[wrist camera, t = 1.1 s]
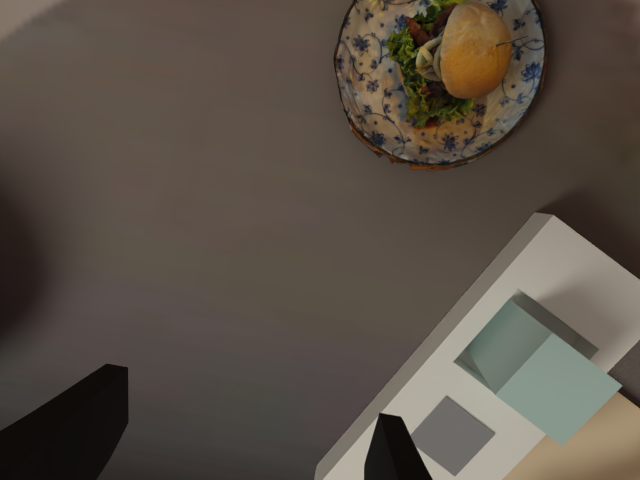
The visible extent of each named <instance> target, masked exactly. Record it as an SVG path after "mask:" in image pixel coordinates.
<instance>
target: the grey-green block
mask: <svg viewBox="0 0 640 480" xmlns="http://www.w3.org/2000/svg"><path fill="white" fill-rule="evenodd" d="M466 349H467V351H468V352H469V354H470V356H471V357H472V359H473V361H474V362H475V364H476V365H477V367H478V369H479V370H480V372H481V373H482V375H483V377H484V378H485V380H486V381H487V383H488V385H489V386H490V388H491V389H492V391H493V393H494V394H495V395H496V396H497V397H498V398H500V399H501V400H502V401H503V402H505V403H506V404H507V405H509V406H510V407H511V408H513V409H514V410H515V411H517V412H518V413H519V414H520V415H522V416H523V417H524V418H526V419H527V420H528V421H530V422H531V423H532V424H534V425H535V426H536V427H537V428H539V429H540V430H541V431H543V432H544V433H545V434H547V435H548V436H549V437H551V438H552V439H553V440H554V441H556V442H557V443H558V444H560V445H561V446H563V445H564V444H565V443H566V442H567V441H568V440H569V439H570V438H571V437H572V436H573V435H574V434H575V433H576V432H577V431H578V430H579V429H580V428H581V427H582V426H583V425H584V424H585V423H586V422H587V421H588V420H589V419H590V418H591V417H592V416H593V415H594V414H595V413H596V412H597V411H598V410H599V409H600V408H601V407H602V406H603V405H604V404H605V403H606V402H607V401H608V400H609V399H610V398H611V397H612V396H613V395H614V394H615V393H616V392H617V391H618V390H619V389H620V388H621V387H622V385H621V384H620V383H618V382H617V381H616V380H615V379H613V378H612V377H611V376H609V375H608V374H607V373H605V372H604V371H603V370H602V369H600V368H599V367H598V366H596V365H595V364H594V363H592V362H591V361H590V360H589V359H587V358H586V357H585V356H583V355H582V354H581V353H579V352H578V351H577V350H576V349H574V348H573V347H572V346H570V345H569V344H568V343H566V342H565V341H564V340H563V339H561V338H560V337H559V336H557V335H556V334H555V333H553V332H552V331H551V330H549V329H548V328H547V327H545V326H544V325H543V324H541V323H540V322H539V321H538V320H536V319H535V318H534V317H532V316H531V315H530V314H528V313H527V312H526V311H524V310H523V309H522V308H520V307H519V306H518V305H516V304H515V303H514V302H513V301H511V300H510V299H508V301H507V302H506V303H505V304H504V305H503V306H502V307H501V308H500V310H499V311H498V312H497V313H496V314H495V315H494V316H493V317H492V319H491V320H490V321H489V322H488V323H487V324H486V325H485V326H484V328H483V329H482V330H481V331H480V332H479V333H478V334H477V335H476V337H475V338H474V339H473V340H472V341H471V342H470V343H469V344H468V346H467V347H466Z"/></svg>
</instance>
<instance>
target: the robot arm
mask: <svg viewBox="0 0 640 480" xmlns="http://www.w3.org/2000/svg"><path fill="white" fill-rule="evenodd" d="M127 424H128V367H122V366H117V365H111V364H105V365H104V366H102V367H101V368H99V369H98V370H96V371H95V372H93V373H91V374H90V375H88V376H87V377H85V378H84V379H82V380H81V381H79V382H78V383H76V384H75V385H73V386H72V387H70V388H69V389H67V390H66V391H64V392H62V393H61V394H59V395H58V396H56V397H55V398H53V399H52V400H50V401H49V402H47V403H45V404H44V405H42V406H41V407H39V408H37V409H36V410H34V411H33V412H31V413H30V414H28V415H26V416H25V417H23V418H21V419H20V420H18V421H16V422H15V423H13V424H11V425H10V426H8V427H6V428H5V429H3V430H1V431H0V480H96V479H97V478H98V476H99V475H100V473H101V472H102V470H103V469H104V467H105V465H106V464H107V462H108V461H109V459H110V457H111V456H112V454H113V452H114V450H115V448H116V446H117V444H118V442H119V440H120V438H121V436H122V434H123V432H124V430H125V428H126V426H127ZM364 480H433V479H432V477H431V475H430V473H429V472H428V470H427V468H426V466H425V464H424V462H423V460H422V458H421V456H420V454H419V452H418V450H417V448H416V446H415V444H414V442H413V440H412V438H411V436H410V434H409V431H408V429H407V427H406V425H405V423H404V421H403V419H402V418H401V416H395V415H390V414H384V413H379V416H378V419H377V423H376V426H375V429H374V433H373V436H372V440H371V443H370V446H369V450H368V453H367V457H366V460H365V464H364Z"/></svg>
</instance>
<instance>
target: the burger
mask: <svg viewBox="0 0 640 480" xmlns="http://www.w3.org/2000/svg"><path fill="white" fill-rule="evenodd" d="M547 37H548V36H547V32H546V28H545V25H544V19H543V16H542V13H541V10H540V8H539V6H538V4H537V2H536V0H354V1H353V2H352V4H351V6H350V8H349V9H348V11H347V13H346V15H345V18H344V21H343V24H342V26H341V29H340V33H339V37H338V41H337V44H336V48H335V52H334V67H335V72H336V77H337V82H338V88H339V93H340V98H341V105H342V109H343V111H344V112H345V113H346V116H347V118H348V121H349V123H350V126H349V128H350V129H351V130H352V132H353V133H354V134H355V136H356V137H357V138H358V139H359V140H360V141H361V142H362V143H363V144H365V145H366V146H367V147H368V148H369V149H370V150H371V151H373V152H374V153H375V154H377V156H378V157H379V158H380V156H381V155H382V154H383V155H385V156H387V157H389V159H390V161H391V164H393V163H394V162H396V163H406V164H409V165H410V166H411V167H410V169H422V170H428V171H433V170H447V169H449V168H454V167H458V166H462V165H465V164H467V163H470V162H472V161H474V160H476V159H478V158H481V157H483V156H484V155H486V154H488V153H489V152H491V151H492V150H493V149H495V148H496V147H498V146H499V145H501V144H502V143H503V142H504V141H505V140H506V139H507V138H509V137H510V136H511V135H512V134H513V133H514V131H515V130H516V129H517V128H518V127H519V126H520V124H521V123H522V122H523V121H524V120H525V119H526V117H527V116H528V115H529V113H530V111H531V109H532V107H533V105H534V103H535V101H536V99H537V97H538V96H539V94H540V92H541V91H542V89H543V87H544V84H543V83H544V81H543V80H544V76H545V73H546V68H547V64H548V42H547Z"/></svg>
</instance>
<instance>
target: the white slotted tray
mask: <svg viewBox="0 0 640 480" xmlns="http://www.w3.org/2000/svg"><path fill="white" fill-rule="evenodd" d="M508 299H510V300H511V301H513V302H514V303H515V304H516V305H518V306H519V307H520V308H522V309H523V310H524V311H526V312H527V313H528V314H530V315H531V316H532V317H534V318H535V319H536V320H538V321H539V322H540V323H541V324H543V325H544V326H545V327H547V328H548V329H549V330H551V331H552V332H553V333H555V334H556V335H557V336H559V337H560V338H561V339H563V340H564V341H565V342H566V343H568V344H569V345H570V346H572V347H573V348H574V349H576V350H577V351H578V352H579V353H581V354H582V355H583V356H585V357H586V358H587V359H589V360H590V361H591V362H592V363H594V364H595V365H596V366H598V367H599V368H600V369H602V370H603V371H604V372H605V373H607V372H608V371H609V370H610V369H611V368H612V367H613V366H614V365H615V364H616V363H617V362H618V361H619V360H620V359H621V358H622V357H623V356H624V355H625V354H626V353H627V352H628V351H629V350H630V349H631V348H632V347H633V346H634V345H635V344H636V343H637V342H638V341H639V340H640V280H639V279H638V278H637V277H635V276H634V275H633V274H631V273H630V272H629V271H627V270H626V269H625V268H623V267H622V266H621V265H619V264H618V263H617V262H615V261H614V260H613V259H611V258H610V257H609V256H607V255H606V254H605V253H603V252H602V251H601V250H599V249H598V248H597V247H595V246H594V245H593V244H591V243H590V242H589V241H587V240H586V239H585V238H583V237H582V236H581V235H579V234H578V233H577V232H576V231H574V230H573V229H572V228H570V227H569V226H568V225H566V224H565V223H564V222H562V221H561V220H560V219H558V218H557V217H556V216H554V215H550V214H543V213H536V212H534V214H533V215H532V216H531V217H530V218H529V219H528V221H527V222H526V223H525V224H524V225H523V226H522V228H521V229H520V230H519V231H518V232H517V233H516V235H515V236H514V237H513V238H512V239H511V240H510V241H509V243H508V244H507V245H506V246H505V247H504V248H503V250H502V251H501V252H500V253H499V254H498V255H497V257H496V258H495V259H494V260H493V261H492V262H491V264H490V265H489V266H488V267H487V268H486V269H485V271H484V272H483V273H482V274H481V275H480V276H479V277H478V279H477V280H476V281H475V282H474V283H473V284H472V286H471V287H470V288H469V289H468V290H467V291H466V293H465V294H464V295H463V296H462V297H461V298H460V300H459V301H458V302H457V303H456V304H455V305H454V307H453V308H452V309H451V310H450V311H449V312H448V313H447V315H446V316H445V317H444V318H443V319H442V320H441V322H440V323H439V324H438V325H437V326H436V327H435V329H434V330H433V331H432V332H431V333H430V334H429V336H428V337H427V338H426V339H425V340H424V341H423V343H422V344H421V345H420V346H419V347H418V348H417V349H416V351H415V352H414V353H413V354H412V355H411V356H410V358H409V359H408V360H407V361H406V362H405V363H404V365H403V366H402V367H401V368H400V369H399V370H398V372H397V373H396V374H395V375H394V376H393V377H392V379H391V380H390V381H389V382H388V383H387V384H386V385H385V387H384V388H383V389H382V390H381V391H380V392H379V394H378V395H377V396H376V397H375V398H374V399H373V401H372V402H371V403H370V404H369V405H368V406H367V408H366V409H365V410H364V411H363V412H362V413H361V414H360V416H359V417H358V418H357V419H356V420H355V421H354V423H353V424H352V425H351V426H350V427H349V428H348V430H347V431H346V432H345V433H344V434H343V435H342V437H341V438H340V439H339V440H338V441H337V442H336V444H335V445H334V446H333V447H332V448H331V449H330V450H329V452H328V453H327V454H326V455H325V456H324V457H323V459H322V460H321V461H320V462H319V463H318V464H317V468H316V473H315V479H314V480H364V464H365V460H366V457H367V453H368V450H369V446H370V443H371V440H372V436H373V433H374V429H375V426H376V423H377V419H378V416H379V413H384V414H390V415H395V416H401V418H402V419H403V421H404V423H405V425H406V427H407V429H408V431H409V434H410V436H411V438H412V440H413V442H414V444H415V446H416V448H417V450H418V452H419V454H420V456H421V458H422V460H423V462H424V464H425V466H426V468H427V470H428V472H429V473H430V475H431V477H432V479H433V480H502V479H503V478H504V477H505V476H506V475H507V474H508V473H509V472H510V471H511V470H512V469H513V468H514V467H515V466H516V465H517V464H518V463H519V462H520V461H521V460H522V459H523V458H524V457H525V456H526V455H527V454H528V453H529V452H530V451H531V450H532V449H533V448H534V447H535V446H536V445H537V444H538V443H539V442H540V440H541V439H542V438H543V437H544V436H545V435H546V434H545V433H544V432H543V431H541V430H540V429H539V428H537V427H536V426H535V425H534V424H532V423H531V422H530V421H528V420H527V419H526V418H524V417H523V416H522V415H520V414H519V413H518V412H517V411H515V410H514V409H513V408H511V407H510V406H509V405H507V404H506V403H505V402H503V401H502V400H501V399H500V398H498V397H497V396H496V395H495V394H494V393H493V391H492V389H491V388H490V386H489V385H488V383H487V381H486V380H485V378H484V377H483V375H482V373H481V372H480V370H479V369H478V367H477V365H476V364H475V362H474V361H473V359H472V357H471V356H470V354H469V352H468V351H467V349H466V347H467V346H468V344H469V343H470V342H471V341H472V340H473V339H474V338H475V337H476V335H477V334H478V333H479V332H480V331H481V330H482V329H483V328H484V326H485V325H486V324H487V323H488V322H489V321H490V320H491V319H492V317H493V316H494V315H495V314H496V313H497V312H498V311H499V310H500V308H501V307H502V306H503V305H504V304H505V303H506V302H507V301H508Z"/></svg>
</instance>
